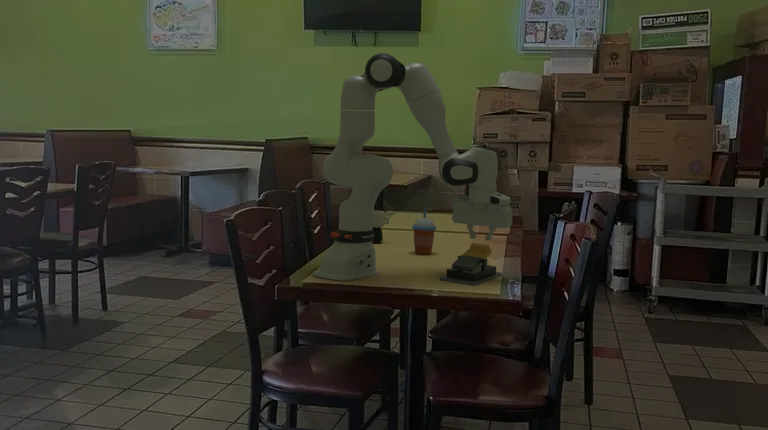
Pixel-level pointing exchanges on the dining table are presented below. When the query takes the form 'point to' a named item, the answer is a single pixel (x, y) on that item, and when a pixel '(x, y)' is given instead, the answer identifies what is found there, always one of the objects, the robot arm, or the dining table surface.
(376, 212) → the grey trophy cup
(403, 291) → the dining table surface
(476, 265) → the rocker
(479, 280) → the grey box with tabs
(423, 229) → the cup with straw
